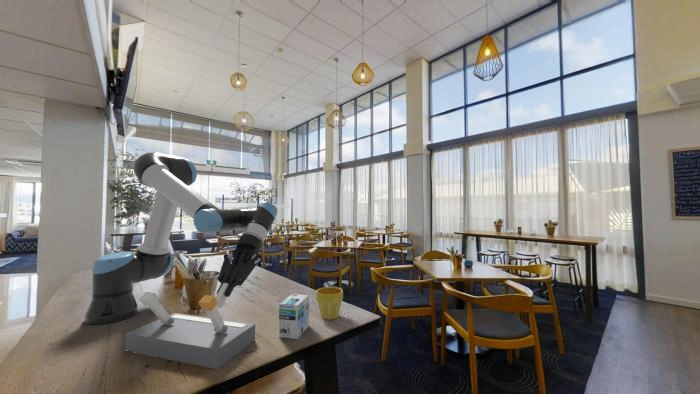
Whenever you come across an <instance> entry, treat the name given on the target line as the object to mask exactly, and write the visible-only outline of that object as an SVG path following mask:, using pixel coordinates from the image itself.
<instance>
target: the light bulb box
mask: <svg viewBox="0 0 700 394" xmlns="http://www.w3.org/2000/svg"><path fill="white" fill-rule="evenodd" d="M278 308H279V310H278V338H284V339H293V340H299V338H300V337H301V336H302V334H304V332H305V331H306V330H307V328H309V324H310V295H307V294H298V293H297V294H296V293H292V294H290V295H289V296H288V297H285V299H284V300H282V301H280V303H279V304H278Z"/></svg>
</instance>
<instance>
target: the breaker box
mask: <svg viewBox="0 0 700 394" xmlns="http://www.w3.org/2000/svg"><path fill="white" fill-rule="evenodd" d="M169 315H170V316H171V318H173V319H174V322H173V323H172V324H164V323H161V320H160V319H159V318H158V319H157V320H155V321H152V322H150V323H148V324H145V325H143V326H140V327H138V328H136V329H133V330H131V331H128V332H126V333H125V350H128V351H132V352H135V353H134V354H137V353H138V354H139V355H141V356H142V355H144V356H148V357H153V356H156V357H155V358H158V357H160V358H159V359H163V358H164V359H163V360H168V361H174V362H180V363H184V364H188V365H195V366H199V367H203V368H207V369H209V368H210V369H214V370H218V369H221V367H222V366H224V365H225V364H226V363H228V362H229V361H230V360H231V359H233V358H234V357H235V356H236V355H238V354H239V353H241V352H242V351H243V350H245V348H247V347H249V345H251V344H252V343H254V342H255V341H256V323H252V322H251V323H250V322H245V321H244V322H243V321H236V320H230V319H223V318H222V320H223V322H224V324H225V326H227V327H228V329H227V331H226V332H225V333H223V332H216V331H214V326H213V324H212V322H211V320H210V318H209V316H208V317H207V316H200V315H192V314H186V313H185V314H184V313H178V312H173V313H172V314H169ZM132 352H131V353H132Z"/></svg>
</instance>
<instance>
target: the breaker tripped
mask: <svg viewBox="0 0 700 394" xmlns="http://www.w3.org/2000/svg"><path fill="white" fill-rule="evenodd" d="M198 304H199V306H200V308H201V310H202V311H203V310H204V311H205V312H206V314H207V316H208V318H210V320H211V322H212V324H213V326H214V331H216V332H223V333H225V332H226V331H227V329H228V327H227V326H225V324H224V322H223V320H224V319H223V318H222V316H221V313H220V311H219V308H217V307H216V305H217V304H218V302H217V300H216V296H215V295H208V294H205V295H204V296H202V297H201V298H200V300H199V301H198ZM222 319H223V320H222Z"/></svg>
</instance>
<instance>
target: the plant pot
mask: <svg viewBox="0 0 700 394" xmlns="http://www.w3.org/2000/svg"><path fill="white" fill-rule="evenodd" d="M343 299H344V291H343V289H342V288H341V287H336V286H326V287H320V288H318V289H316V290H315V301H316V302H317V303H318V309H319V313H320V316H321V317H320V318H321V319H323V320H335V319H337V318H338V317H339V316H340V309H341V305H342V304H341V303H342V301H343Z"/></svg>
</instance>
